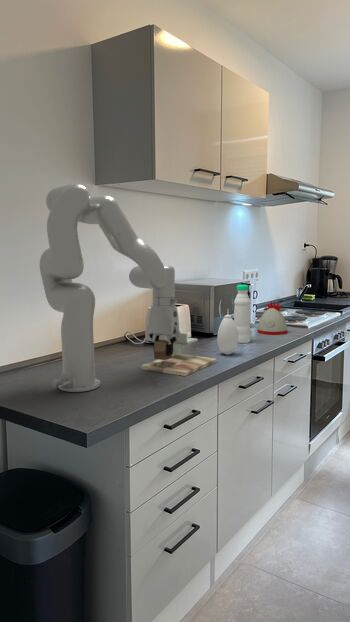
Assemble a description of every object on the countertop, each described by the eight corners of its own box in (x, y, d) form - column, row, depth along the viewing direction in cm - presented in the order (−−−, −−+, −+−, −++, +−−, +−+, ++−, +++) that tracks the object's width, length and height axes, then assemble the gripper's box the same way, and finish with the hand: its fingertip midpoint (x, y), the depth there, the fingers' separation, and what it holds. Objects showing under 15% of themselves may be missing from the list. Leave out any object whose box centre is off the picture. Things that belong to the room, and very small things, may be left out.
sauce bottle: (213, 354, 187) (213, 308, 184) (226, 351, 192) (226, 306, 190) (229, 357, 181) (229, 310, 179) (241, 354, 187) (242, 308, 184)
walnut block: (165, 360, 164) (165, 342, 163) (154, 358, 166) (154, 341, 166) (172, 357, 168) (172, 340, 167) (161, 356, 170) (161, 339, 169)
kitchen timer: (281, 336, 222) (281, 304, 220) (253, 333, 229) (253, 302, 227) (290, 331, 233) (291, 300, 231) (264, 328, 241) (264, 299, 239)
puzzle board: (185, 376, 157) (185, 372, 156) (140, 369, 166) (140, 365, 166) (216, 361, 175) (216, 358, 175) (175, 356, 185) (175, 352, 184)
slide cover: (186, 359, 172) (186, 333, 171) (167, 356, 177) (167, 331, 175) (197, 355, 179) (197, 330, 178) (179, 352, 183) (179, 328, 182)
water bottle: (237, 344, 205) (238, 285, 202) (231, 340, 212) (231, 284, 208) (252, 343, 207) (253, 285, 204) (246, 339, 214) (246, 283, 210)
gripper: (190, 302, 163) (189, 355, 166) (149, 299, 172) (149, 349, 175) (178, 304, 157) (177, 359, 159) (137, 301, 166) (137, 352, 168)
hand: (163, 353), depth 167 cm, fingers closed on walnut block, 4 cm apart
